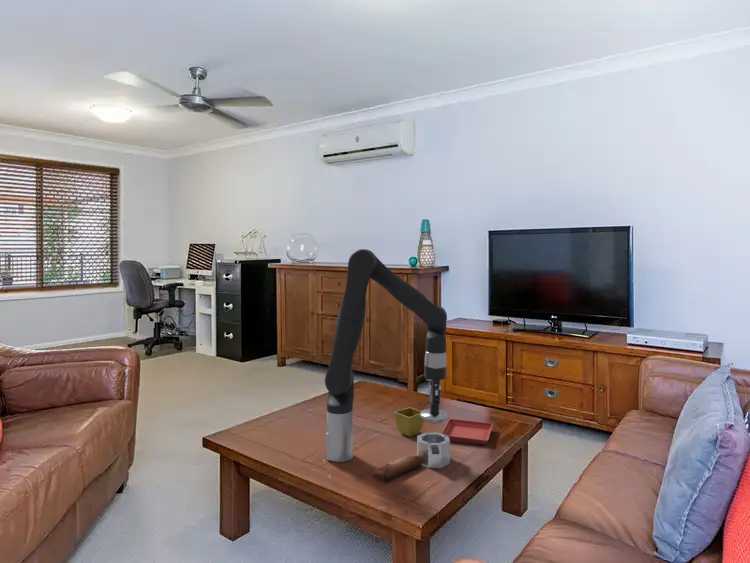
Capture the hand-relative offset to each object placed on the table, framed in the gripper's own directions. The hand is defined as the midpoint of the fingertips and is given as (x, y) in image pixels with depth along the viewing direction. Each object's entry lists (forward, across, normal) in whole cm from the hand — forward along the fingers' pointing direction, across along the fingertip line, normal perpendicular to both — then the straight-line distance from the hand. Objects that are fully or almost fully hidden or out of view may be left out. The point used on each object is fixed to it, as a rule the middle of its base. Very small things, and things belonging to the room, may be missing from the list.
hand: (434, 412), depth 174 cm
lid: (+3, 0, 0) cm, 3 cm away
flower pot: (+18, -26, -7) cm, 32 cm away
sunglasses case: (+18, +7, -13) cm, 24 cm away
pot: (+18, -1, 0) cm, 18 cm away
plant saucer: (+18, -24, +16) cm, 34 cm away
